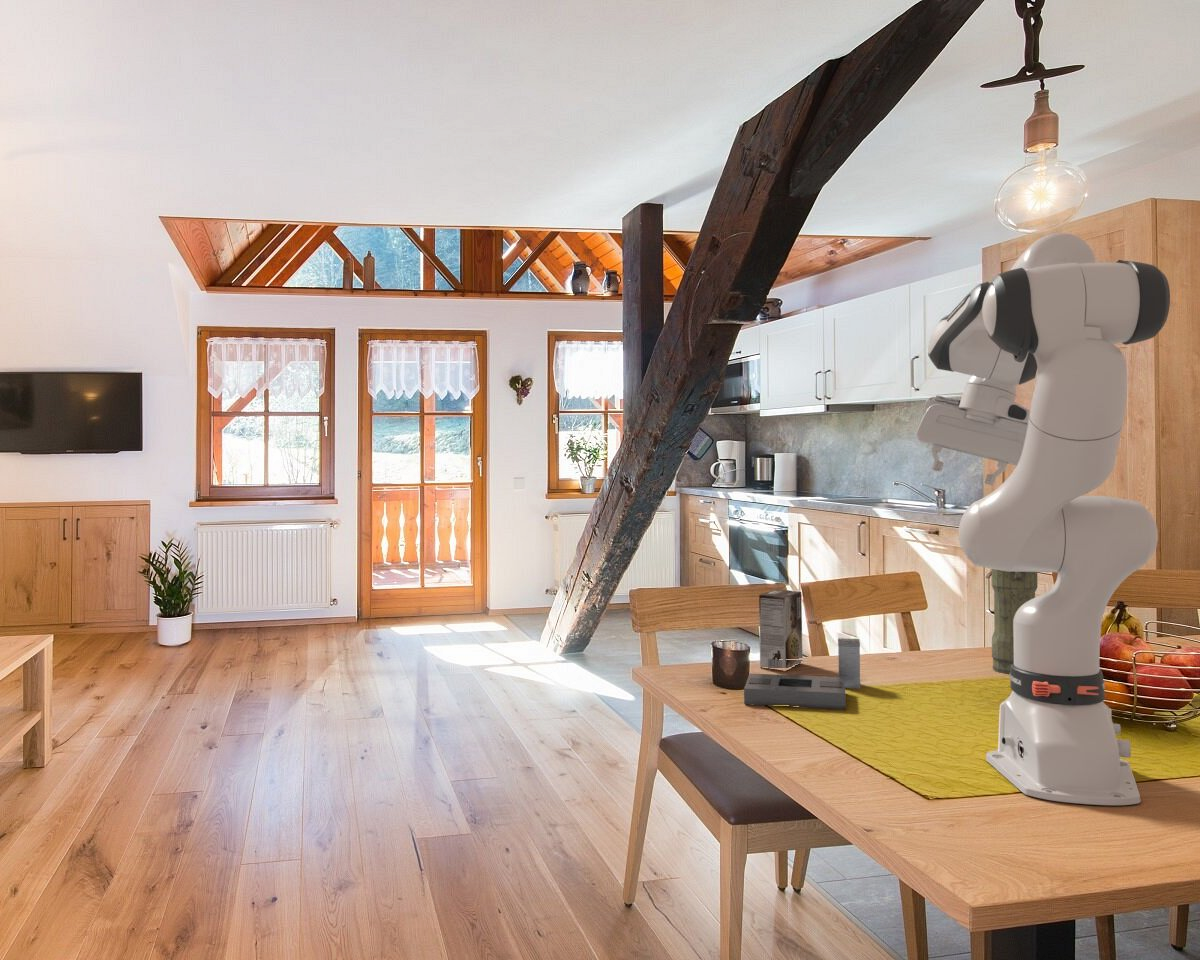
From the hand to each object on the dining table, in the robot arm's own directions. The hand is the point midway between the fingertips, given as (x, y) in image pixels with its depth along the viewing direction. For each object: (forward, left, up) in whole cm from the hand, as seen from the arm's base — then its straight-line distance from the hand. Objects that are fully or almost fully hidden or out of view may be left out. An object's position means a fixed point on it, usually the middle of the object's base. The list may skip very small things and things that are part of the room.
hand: (962, 477), depth 165 cm
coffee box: (+21, +35, -41) cm, 58 cm away
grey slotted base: (-6, +31, -41) cm, 52 cm away
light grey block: (+6, +21, -41) cm, 46 cm away
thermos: (+26, -13, -41) cm, 51 cm away
